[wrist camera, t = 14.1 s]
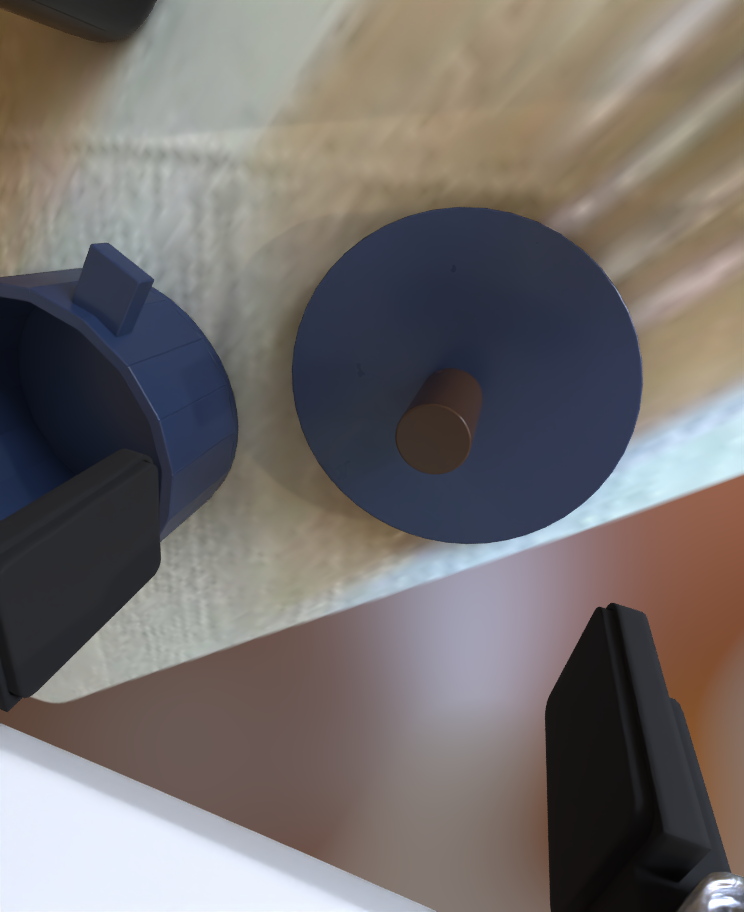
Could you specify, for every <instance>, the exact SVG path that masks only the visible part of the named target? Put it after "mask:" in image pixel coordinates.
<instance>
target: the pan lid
mask: <svg viewBox="0 0 744 912" xmlns="http://www.w3.org/2000/svg"><path fill="white" fill-rule="evenodd" d="M292 379H293V393H294V399H295V406H296V411H297V414H298V418H299V421H300V425H301V428H302V430H303V433H304V435H305V437H306V440H307V442H308V445H309V447H310V448H311V450H312V452H313V454H314V456H315V457H316V459H317V461H318V463H319V464H320V465H321V467H322V468H323V469H324V471H325V472H326V474H327V475H328V476H329V478H330V479H331V480H332V481H333V482H334V483H335V484H336V486H337V487H338V488H339V489H340V490H341V491H342V492H343V493H344V494H345V495H346V496H347V497H349V498H350V499H351V500H352V501H353V502H354V503H355V504H356V505H358V506H359V507H361V508H362V509H363V510H365V511H366V512H368V513H369V514H370V515H372V516H373V517H375V518H377V519H379V520H381V521H382V522H384V523H386V524H388V525H390V526H392V527H394V528H397V529H399V530H401V531H404V532H406V533H409V534H412V535H416V536H419V537H422V538H426V539H430V540H436V541H441V542H447V543H460V544H478V543H491V542H498V541H504V540H509V539H513V538H516V537H520V536H524V535H527V534H530V533H532V532H535V531H537V530H540V529H542V528H545V527H547V526H549V525H551V524H552V523H554V522H556V521H558V520H560V519H562V518H563V517H565V516H566V515H568V514H569V513H571V512H572V511H573V510H575V509H576V508H578V507H579V506H580V505H582V504H583V503H584V502H585V501H586V500H587V499H588V498H589V497H590V496H592V495H593V494H594V493H595V492H596V491H597V490H598V489H599V488H600V486H601V485H602V484H603V483H604V482H605V480H606V479H607V478H608V477H609V476H610V474H611V473H612V472H613V470H614V469H615V467H616V465H617V464H618V462H619V461H620V459H621V457H622V456H623V454H624V452H625V450H626V448H627V445H628V443H629V441H630V439H631V436H632V434H633V432H634V428H635V425H636V421H637V417H638V414H639V410H640V403H641V395H642V387H643V378H642V358H641V352H640V347H639V342H638V336H637V333H636V330H635V327H634V325H633V322H632V319H631V316H630V313H629V311H628V309H627V307H626V305H625V303H624V301H623V300H622V298H621V296H620V294H619V292H618V290H617V288H616V287H615V286H614V284H613V283H612V282H611V280H610V279H609V278H608V276H607V275H606V274H605V272H604V271H603V270H602V268H601V267H600V266H599V265H598V264H597V263H596V262H595V261H594V260H593V259H592V258H590V257H589V256H588V255H587V254H586V253H585V252H584V251H583V250H582V249H581V248H580V247H578V246H577V245H575V244H574V243H573V242H571V241H570V240H569V239H567V238H566V237H564V236H563V235H562V234H560V233H558V232H556V231H554V230H552V229H550V228H549V227H547V226H545V225H543V224H541V223H539V222H537V221H534V220H531V219H528V218H525V217H522V216H519V215H516V214H513V213H510V212H504V211H499V210H493V209H488V208H472V207H454V208H445V209H436V210H430V211H426V212H422V213H418V214H415V215H411V216H407V217H405V218H402V219H400V220H398V221H395V222H393V223H390V224H388V225H385V226H384V227H382V228H380V229H379V230H377V231H375V232H373V233H372V234H370V235H368V236H367V237H365V238H363V239H362V240H361V241H360V242H358V243H357V244H356V245H355V246H353V247H352V248H351V249H350V250H348V251H347V252H346V253H345V254H344V255H343V256H342V257H341V258H340V259H339V260H338V261H337V262H336V263H335V264H334V265H333V267H332V268H331V269H330V270H329V271H328V272H327V274H326V275H325V277H324V278H323V279H322V281H321V282H320V284H319V285H318V286H317V288H316V290H315V291H314V293H313V295H312V297H311V299H310V301H309V303H308V305H307V307H306V309H305V312H304V314H303V317H302V320H301V323H300V325H299V328H298V333H297V337H296V342H295V346H294V354H293V365H292Z"/></svg>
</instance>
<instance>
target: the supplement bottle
mask: <svg viewBox="0 0 744 912" xmlns="http://www.w3.org/2000/svg"><path fill="white" fill-rule="evenodd" d="M156 1H157V0H0V8H1V9H4V10H6V11H9V12H12V13H14V14H17V15H20V16H22V17H25V18H27V19H30V20H33V21H35V22H38V23H41V24H43V25H46V26H49V27H51V28H54V29H57V30H59V31H62V32H65V33H68V34H71V35H74V36H76V37H79V38H82V39H86V40H89V41H94V42H113V41H117V40H121V39H123V38H125V37H127V36H129V35H130V34H132V33H133V32H134V31H136V30H137V29H138V28H139V27H140V26H141V25H142V24H143V23H144V21H145V20H146V19H147V17H148V16H149V14H150V13H151V11H152V9H153V7H154V5H155V3H156Z"/></svg>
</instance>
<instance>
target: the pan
mask: <svg viewBox="0 0 744 912" xmlns="http://www.w3.org/2000/svg"><path fill="white" fill-rule="evenodd" d="M153 282H154V279H153V278H152V277H150V276H149V275H148V274H147V273H145V272H144V271H143V270H142V269H140V268H139V267H138V266H137V265H135V264H134V263H133V262H132V261H130V260H129V259H128V258H127V257H125V256H124V255H123V254H122V253H120V252H119V251H118V250H117V249H115V248H114V247H113V246H112V245H110V244H109V243H99V244H91V245H90V248H89V251H88V254H87V257H86V260H85V263H84V266H83V269H81V268H78V269H69V270H60V271H51V272H43V273H34V274H25V275H16V276H8V277H0V521H1V520H3V519H5V518H6V517H8V516H10V515H11V514H13V513H15V512H16V511H18V510H20V509H21V508H23V507H25V506H26V505H28V504H30V503H31V502H33V501H35V500H36V499H38V498H40V497H41V496H43V495H45V494H46V493H48V492H50V491H51V490H53V489H55V488H56V487H58V486H60V485H61V484H63V483H65V482H66V481H68V480H70V479H71V478H73V477H75V476H76V475H78V474H80V473H81V472H83V471H85V470H86V469H88V468H90V467H91V466H93V465H95V464H96V463H98V462H100V461H101V460H103V459H105V458H106V457H108V456H110V455H111V454H113V453H115V452H116V451H118V450H120V449H129V450H132V451H135V452H138V453H141V454H144V455H148V456H149V457H151V459H152V461H153V464H154V465H155V466H157V468H158V483H159V517H160V542H161V541H162V540H163V539H164V538H166V537H167V536H168V535H169V534H170V533H171V532H172V531H174V530H175V529H176V528H177V527H178V526H179V525H180V524H182V523H183V522H184V521H185V520H186V519H187V518H188V517H190V516H191V515H192V514H193V513H194V512H195V511H196V510H198V509H199V508H200V507H201V506H202V505H203V504H204V503H206V502H207V501H208V500H209V499H210V498H211V497H212V495H213V494H214V492H215V491H216V490H217V489H218V488H219V486H220V485H221V484H222V483H223V481H224V480H225V478H226V476H227V474H228V472H229V471H230V468H231V466H232V463H233V460H234V457H235V452H236V447H237V440H238V420H237V409H236V404H235V400H234V395H233V391H232V388H231V385H230V382H229V379H228V376H227V374H226V372H225V370H224V367H223V365H222V363H221V361H220V359H219V357H218V355H217V354H216V352H215V350H214V348H213V347H212V345H211V343H210V342H209V341H208V339H207V338H206V336H205V335H204V334H203V332H202V331H201V330H200V328H199V327H198V326H197V325H196V324H195V323H194V321H193V320H192V319H191V318H190V317H189V316H188V315H187V314H186V313H185V312H184V311H183V310H182V309H181V308H180V307H179V306H177V305H176V304H175V303H174V302H173V301H172V300H171V299H169V298H168V297H166V296H165V295H163V294H162V293H161V292H159V291H158V290H156V289H155V288H153V287H152V285H153Z"/></svg>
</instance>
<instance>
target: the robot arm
mask: <svg viewBox="0 0 744 912" xmlns="http://www.w3.org/2000/svg"><path fill="white" fill-rule="evenodd" d="M160 561H161V552H160V517H159V483H158V468H157V466H155V465H154V464H153V461H152V459H151V457H149V456H148V455H144V454H141V453H138V452H135V451H132V450H129V449H120V450H118V451H116V452H115V453H113V454H111V455H110V456H108V457H106V458H105V459H103V460H101V461H100V462H98V463H96V464H95V465H93V466H91V467H90V468H88V469H86V470H85V471H83V472H81V473H80V474H78V475H76V476H75V477H73V478H71V479H70V480H68V481H66V482H65V483H63V484H61V485H60V486H58V487H56V488H55V489H53V490H51V491H50V492H48V493H46V494H45V495H43V496H41V497H40V498H38V499H36V500H35V501H33V502H31V503H30V504H28V505H26V506H25V507H23V508H21V509H20V510H18V511H16V512H15V513H13V514H11V515H10V516H8V517H6V518H5V519H3V520H1V521H0V709H1V710H4V711H6V712H8V711H9V710H10V709H11V708H12V707H13V706H14V705H15V704H16V703H17V702H18V701H20V699H22V697H23V698H27V697H30V696H32V695H33V694H34V693H36V692H37V691H38V690H39V689H40V688H41V687H42V686H43V685H44V684H45V683H46V682H47V681H48V680H49V679H50V678H51V677H52V676H53V675H54V674H55V673H56V672H57V671H58V670H59V669H60V668H61V667H62V666H63V665H64V664H65V663H66V662H67V661H68V660H69V659H70V658H71V657H72V656H73V655H74V654H75V653H76V652H77V651H78V650H79V649H80V648H81V647H82V646H83V645H84V644H85V643H86V642H87V641H88V640H89V639H90V638H91V637H92V636H93V635H94V634H95V633H96V632H98V631H99V630H100V629H101V628H102V627H103V626H104V625H105V624H106V623H107V622H108V621H109V620H110V619H111V618H112V617H113V616H114V615H115V614H116V613H117V612H118V611H119V610H120V609H121V608H122V607H123V606H124V605H125V604H126V603H127V602H128V601H129V600H130V599H131V598H132V597H133V596H134V595H135V594H136V593H137V592H138V591H139V590H140V589H141V588H142V587H143V586H144V585H145V584H146V583H147V582H148V581H149V580H150V579H151V578H152V577H153V576H154V575H155V574H156V572H157V570H158V568H159V566H160ZM545 727H546V728H545V730H546V766H547V802H548V804H547V805H548V842H549V874H550V875H549V877H550V907H551V912H744V877H741V876H738V875H735V874H731V870H730V867H729V864H728V861H727V857H726V854H725V850H724V847H723V844H722V841H721V837H720V834H719V830H718V827H717V824H716V820H715V817H714V814H713V810H712V807H711V804H710V800H709V797H708V793H707V791H706V787H705V783H704V780H703V777H702V774H701V770H700V767H699V763H698V760H697V757H696V753H695V750H694V747H693V744H692V740H691V737H690V733H689V730H688V727H687V724H686V720H685V717H684V713H683V711H682V709H681V706H680V704H679V703H678V702H677V701H676V700H675V699H673V698H670V697H669V695H668V691H667V688H666V684H665V680H664V677H663V673H662V670H661V666H660V662H659V659H658V655H657V652H656V648H655V645H654V641H653V637H652V634H651V630H650V627H649V623H648V620H647V617H646V615H645V614H644V613H643V612H640V611H638V610H634V609H631V608H628V607H625V606H621V605H619V604H615V603H610V604H609V605H608V606H607V608H606V609H605V608H602V607H598V608H596V610H595V611H594V613H593V615H592V617H591V618H590V620H589V622H588V624H587V626H586V628H585V630H584V632H583V633H582V636H581V637H580V639H579V641H578V643H577V645H576V647H575V649H574V651H573V652H572V654H571V656H570V658H569V660H568V662H567V664H566V665H565V668H564V669H563V671H562V673H561V675H560V677H559V679H558V681H557V682H556V684H555V686H554V688H553V690H552V692H551V694H550V696H549V698H548V701H547V705H546V711H545ZM0 912H437V911H435V910H432V909H430V908H428V907H426V906H423V905H421V904H419V903H417V902H414V901H412V900H410V899H408V898H405V897H403V896H401V895H398V894H396V893H394V892H392V891H389V890H387V889H385V888H382V887H380V886H378V885H376V884H373V883H371V882H368V881H366V880H364V879H362V878H360V877H357V876H355V875H353V874H350V873H348V872H346V871H344V870H341V869H339V868H337V867H334V866H332V865H329V864H327V863H325V862H323V861H321V860H318V859H316V858H314V857H311V856H309V855H307V854H305V853H302V852H300V851H298V850H295V849H293V848H291V847H288V846H286V845H284V844H282V843H279V842H277V841H275V840H272V839H270V838H268V837H265V836H263V835H261V834H259V833H256V832H254V831H252V830H249V829H247V828H245V827H242V826H240V825H237V824H235V823H233V822H231V821H228V820H226V819H224V818H221V817H219V816H217V815H215V814H212V813H210V812H208V811H205V810H203V809H201V808H198V807H196V806H194V805H191V804H189V803H186V802H184V801H182V800H180V799H177V798H175V797H173V796H170V795H167V794H166V793H163V792H161V791H159V790H156V789H154V788H151V787H149V786H147V785H145V784H142V783H140V782H138V781H135V780H133V779H131V778H128V777H126V776H124V775H121V774H119V773H117V772H114V771H112V770H110V769H107V768H105V767H102V766H100V765H98V764H96V763H93V762H91V761H89V760H86V759H84V758H81V757H79V756H76V755H74V754H72V753H70V752H67V751H65V750H63V749H60V748H58V747H55V746H53V745H50V744H48V743H46V742H44V741H41V740H39V739H37V738H34V737H32V736H29V735H27V734H25V733H22V732H20V731H18V730H15V729H13V728H11V727H8V726H6V725H4V724H1V723H0Z"/></svg>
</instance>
